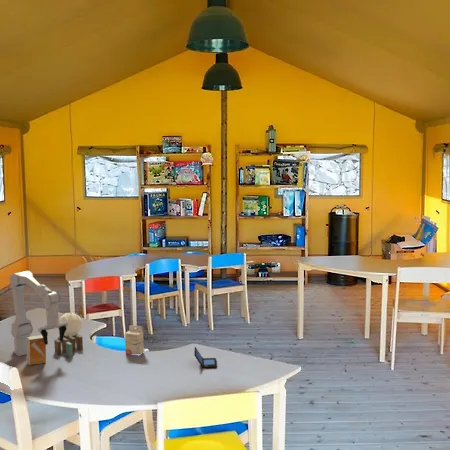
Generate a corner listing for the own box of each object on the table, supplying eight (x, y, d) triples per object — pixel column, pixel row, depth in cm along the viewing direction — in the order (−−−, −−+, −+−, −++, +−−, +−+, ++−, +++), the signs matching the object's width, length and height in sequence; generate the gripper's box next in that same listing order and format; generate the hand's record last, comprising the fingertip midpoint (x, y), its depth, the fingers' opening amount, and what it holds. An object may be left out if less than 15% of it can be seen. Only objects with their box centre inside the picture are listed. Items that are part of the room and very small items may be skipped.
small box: (29, 365, 281) (29, 339, 280) (26, 362, 286) (26, 336, 285) (46, 362, 285) (45, 337, 284) (42, 359, 290) (42, 334, 290)
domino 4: (69, 357, 293) (69, 344, 292) (66, 355, 297) (65, 342, 296) (72, 357, 294) (72, 344, 293) (69, 354, 298) (68, 341, 297)
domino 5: (80, 350, 304) (79, 337, 304) (76, 347, 308) (75, 335, 307) (82, 349, 305) (82, 336, 305) (79, 347, 309) (78, 334, 308)
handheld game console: (216, 368, 275) (216, 354, 274) (194, 369, 274) (194, 354, 273) (216, 359, 287) (216, 345, 286) (194, 360, 287) (194, 346, 286)
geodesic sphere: (76, 319, 342) (64, 304, 334) (92, 323, 334) (80, 307, 325) (61, 339, 333) (48, 324, 325) (77, 343, 325) (64, 328, 317)
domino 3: (73, 351, 302) (72, 339, 301) (69, 349, 306) (68, 336, 305) (75, 351, 303) (75, 338, 302) (72, 348, 307) (71, 336, 306)
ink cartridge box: (125, 354, 296) (124, 327, 294) (129, 351, 301) (128, 324, 299) (139, 356, 293) (138, 328, 292) (144, 353, 298) (143, 326, 296)
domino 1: (58, 355, 297) (57, 342, 296) (54, 352, 301) (54, 339, 300) (61, 354, 298) (60, 341, 297) (57, 351, 302) (57, 339, 301)
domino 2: (65, 353, 300) (65, 340, 299) (62, 350, 303) (61, 338, 303) (68, 352, 300) (68, 339, 300) (65, 350, 304) (64, 337, 304)
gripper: (40, 320, 276) (42, 347, 278) (69, 315, 285) (70, 341, 286) (36, 317, 282) (37, 344, 283) (64, 312, 290) (65, 338, 292)
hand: (53, 342), depth 285 cm, fingers open, 7 cm apart
